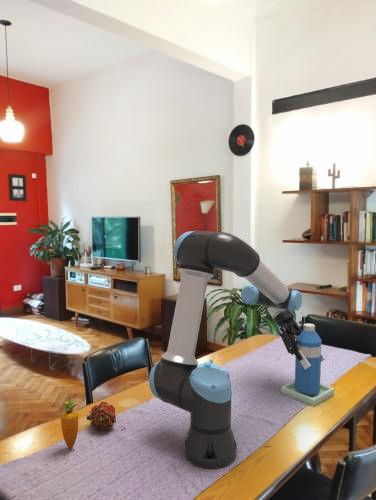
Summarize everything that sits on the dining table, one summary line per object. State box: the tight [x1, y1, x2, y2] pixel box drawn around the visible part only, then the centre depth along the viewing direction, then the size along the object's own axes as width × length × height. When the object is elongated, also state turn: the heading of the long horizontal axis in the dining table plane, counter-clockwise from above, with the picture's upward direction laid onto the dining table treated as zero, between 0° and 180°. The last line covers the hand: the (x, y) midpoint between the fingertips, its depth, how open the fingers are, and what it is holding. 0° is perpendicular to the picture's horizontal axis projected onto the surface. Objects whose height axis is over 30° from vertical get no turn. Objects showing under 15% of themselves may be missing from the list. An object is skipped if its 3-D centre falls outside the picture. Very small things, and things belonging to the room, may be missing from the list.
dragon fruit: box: [85, 401, 117, 431], centre depth 128 cm, size 8×8×12 cm
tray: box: [280, 380, 335, 408], centre depth 150 cm, size 14×14×2 cm
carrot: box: [60, 398, 79, 450], centre depth 115 cm, size 5×5×15 cm
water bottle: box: [294, 323, 323, 395], centre depth 148 cm, size 9×9×25 cm
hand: (315, 364), depth 146 cm, fingers closed on water bottle, 9 cm apart
